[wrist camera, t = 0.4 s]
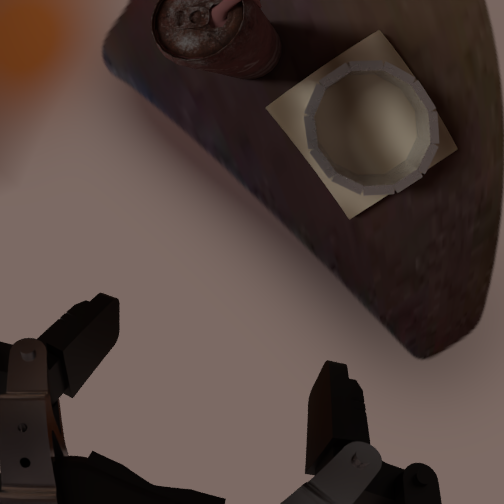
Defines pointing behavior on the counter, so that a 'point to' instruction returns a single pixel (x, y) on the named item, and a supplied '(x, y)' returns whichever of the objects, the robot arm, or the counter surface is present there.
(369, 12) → the counter surface
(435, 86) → the counter surface
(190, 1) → the can
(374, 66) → the collar
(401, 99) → the stand
